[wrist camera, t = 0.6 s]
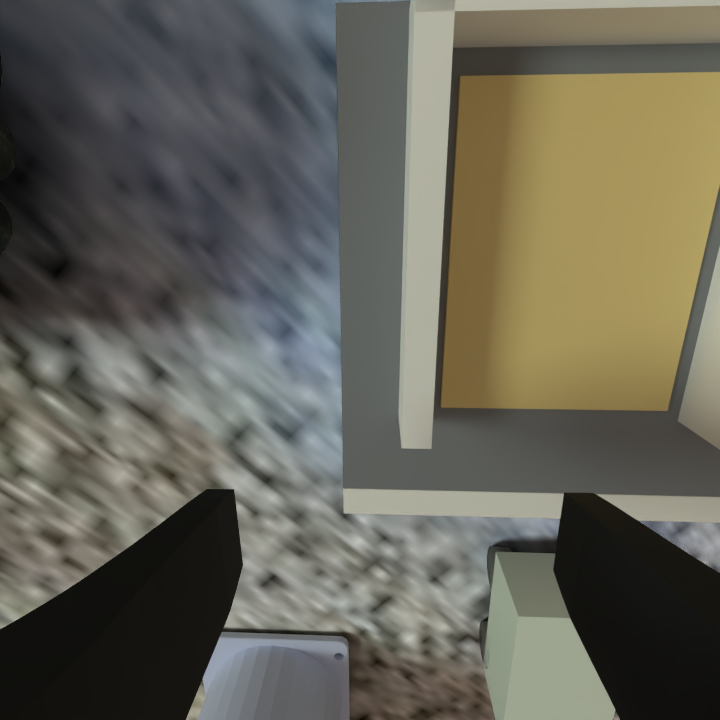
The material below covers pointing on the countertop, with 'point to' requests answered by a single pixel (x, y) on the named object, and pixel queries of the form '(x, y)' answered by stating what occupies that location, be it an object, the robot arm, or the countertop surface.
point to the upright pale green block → (535, 645)
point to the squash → (3, 162)
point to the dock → (530, 256)
